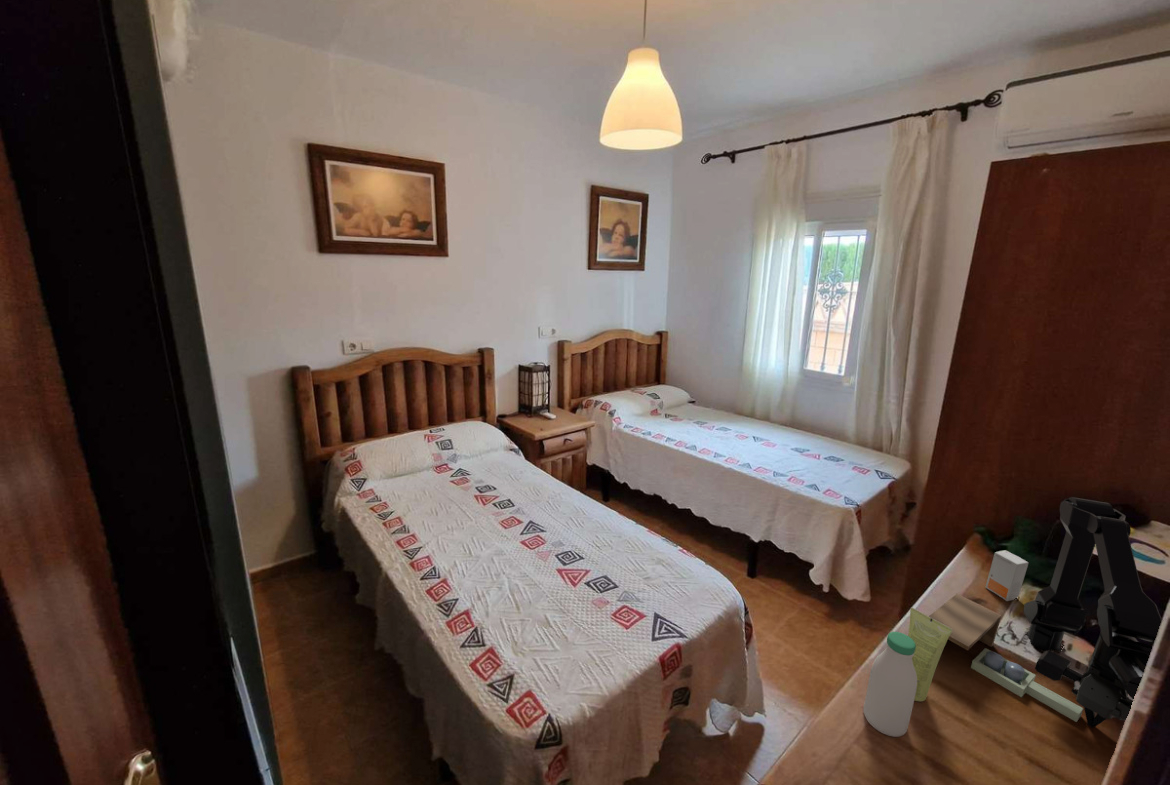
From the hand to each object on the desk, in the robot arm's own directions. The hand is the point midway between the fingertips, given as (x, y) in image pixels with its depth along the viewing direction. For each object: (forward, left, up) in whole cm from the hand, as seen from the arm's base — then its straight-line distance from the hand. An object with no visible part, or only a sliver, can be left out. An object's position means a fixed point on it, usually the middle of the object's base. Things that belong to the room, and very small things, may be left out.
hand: (1091, 725), depth 94 cm
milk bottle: (+33, -23, -1) cm, 40 cm away
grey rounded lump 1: (0, -16, 0) cm, 16 cm away
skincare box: (-35, -25, -1) cm, 44 cm away
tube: (+21, -23, -1) cm, 31 cm away
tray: (0, -10, -1) cm, 10 cm away
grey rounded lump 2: (0, -12, 0) cm, 13 cm away
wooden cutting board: (0, -23, -1) cm, 23 cm away
